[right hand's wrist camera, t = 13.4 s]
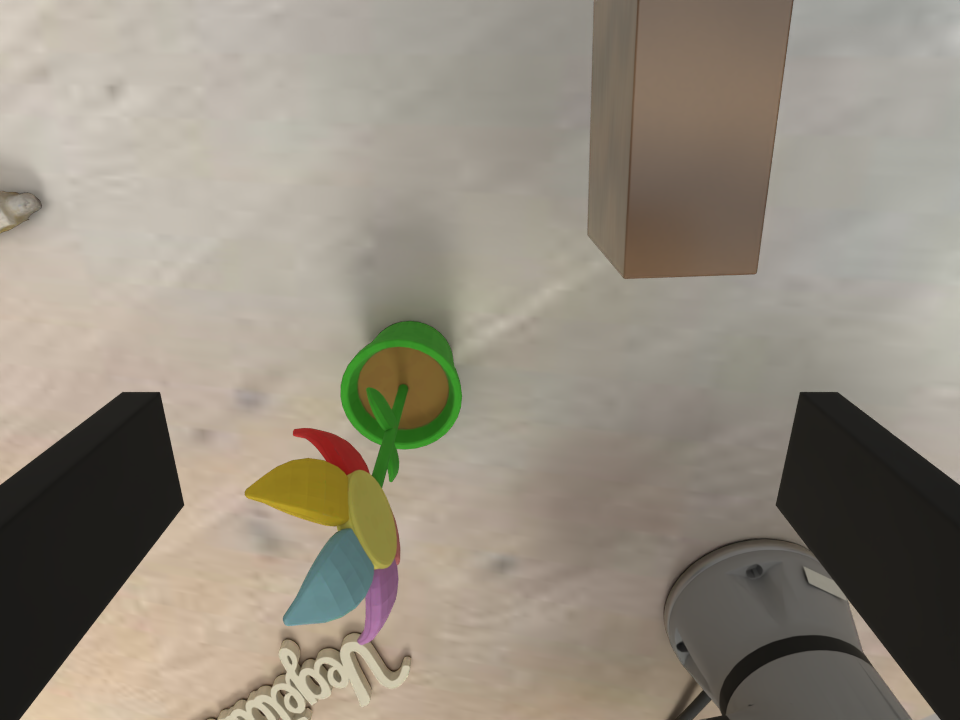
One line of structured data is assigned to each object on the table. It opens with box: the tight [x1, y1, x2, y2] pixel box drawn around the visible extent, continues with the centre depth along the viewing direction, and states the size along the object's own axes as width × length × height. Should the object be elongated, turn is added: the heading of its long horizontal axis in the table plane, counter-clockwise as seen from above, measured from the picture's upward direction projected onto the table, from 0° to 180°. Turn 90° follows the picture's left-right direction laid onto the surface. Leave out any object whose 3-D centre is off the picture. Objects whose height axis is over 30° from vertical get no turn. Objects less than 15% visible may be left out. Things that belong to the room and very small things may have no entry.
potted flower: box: [245, 321, 462, 645], centre depth 34 cm, size 9×8×25 cm
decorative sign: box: [207, 633, 411, 720], centre depth 57 cm, size 26×1×10 cm
